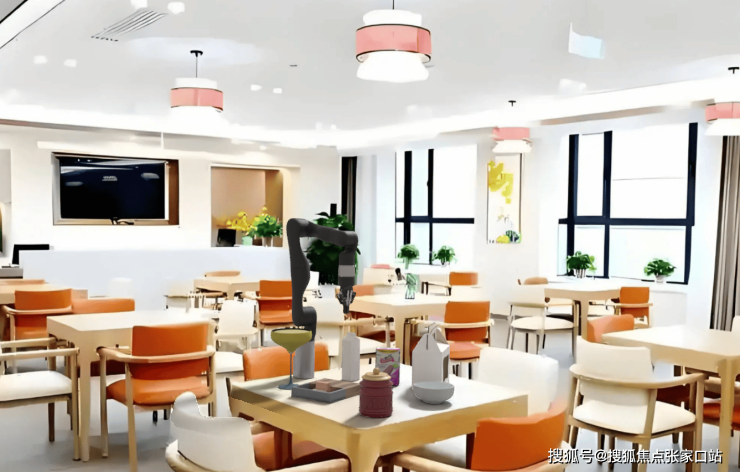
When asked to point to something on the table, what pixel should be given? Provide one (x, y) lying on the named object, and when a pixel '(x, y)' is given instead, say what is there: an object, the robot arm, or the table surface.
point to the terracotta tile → (323, 386)
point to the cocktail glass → (290, 344)
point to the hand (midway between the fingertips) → (346, 313)
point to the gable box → (431, 357)
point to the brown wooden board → (340, 386)
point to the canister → (376, 395)
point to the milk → (350, 357)
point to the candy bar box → (389, 362)
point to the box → (317, 394)
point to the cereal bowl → (433, 391)
